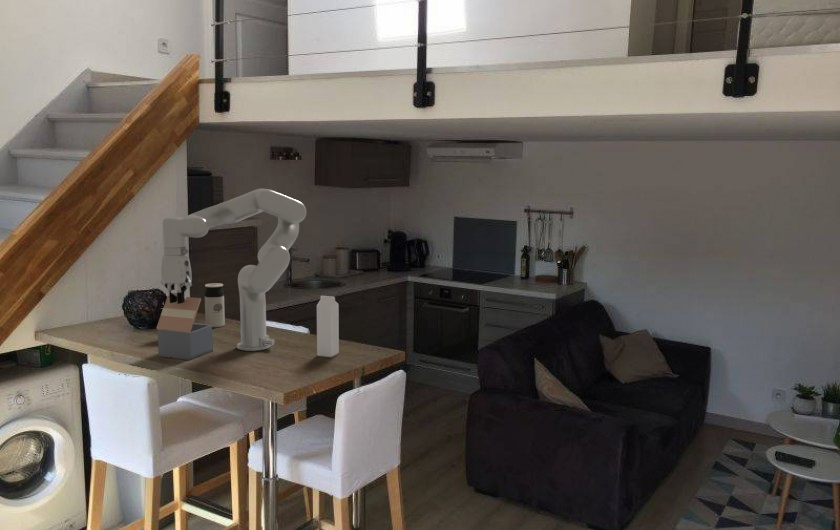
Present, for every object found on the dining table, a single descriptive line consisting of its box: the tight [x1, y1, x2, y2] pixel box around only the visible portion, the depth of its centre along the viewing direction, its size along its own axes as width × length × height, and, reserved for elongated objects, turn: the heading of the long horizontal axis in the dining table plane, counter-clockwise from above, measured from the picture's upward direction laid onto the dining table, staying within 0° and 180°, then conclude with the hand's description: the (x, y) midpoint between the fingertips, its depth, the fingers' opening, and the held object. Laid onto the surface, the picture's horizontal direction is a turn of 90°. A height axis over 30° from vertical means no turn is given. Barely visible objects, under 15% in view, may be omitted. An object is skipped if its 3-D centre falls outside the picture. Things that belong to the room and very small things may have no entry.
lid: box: [156, 289, 202, 333], centre depth 251 cm, size 14×13×7 cm
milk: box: [316, 295, 340, 358], centre depth 258 cm, size 6×6×22 cm
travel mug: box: [204, 282, 226, 328], centre depth 302 cm, size 8×8×18 cm
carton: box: [157, 322, 214, 361], centre depth 258 cm, size 14×13×10 cm
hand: (177, 302), depth 252 cm, fingers closed on lid, 2 cm apart
